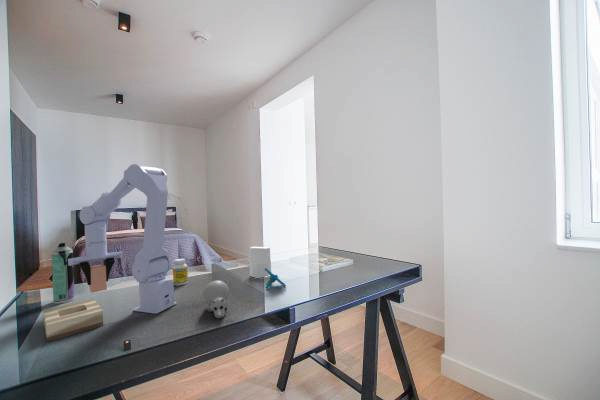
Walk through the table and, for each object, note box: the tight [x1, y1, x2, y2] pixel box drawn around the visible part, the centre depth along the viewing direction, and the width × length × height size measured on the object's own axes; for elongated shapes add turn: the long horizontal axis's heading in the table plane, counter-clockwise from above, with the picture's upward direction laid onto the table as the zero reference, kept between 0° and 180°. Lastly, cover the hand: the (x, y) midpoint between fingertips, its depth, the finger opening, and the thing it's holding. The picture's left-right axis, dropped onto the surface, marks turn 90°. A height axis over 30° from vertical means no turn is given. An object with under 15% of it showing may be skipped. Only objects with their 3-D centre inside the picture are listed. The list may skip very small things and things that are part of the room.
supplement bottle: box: [172, 258, 189, 286], centre depth 107 cm, size 5×5×10 cm
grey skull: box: [203, 280, 230, 319], centre depth 77 cm, size 7×12×8 cm, turn 20°
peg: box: [88, 263, 107, 294], centre depth 89 cm, size 4×4×8 cm
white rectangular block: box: [249, 246, 272, 277], centre depth 114 cm, size 9×9×12 cm
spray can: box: [51, 242, 75, 305], centre depth 92 cm, size 6×6×20 cm
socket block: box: [42, 298, 104, 342], centre depth 73 cm, size 14×11×4 cm
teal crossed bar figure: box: [264, 268, 287, 290], centre depth 97 cm, size 11×6×10 cm
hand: (97, 282), depth 89 cm, fingers closed on peg, 4 cm apart
